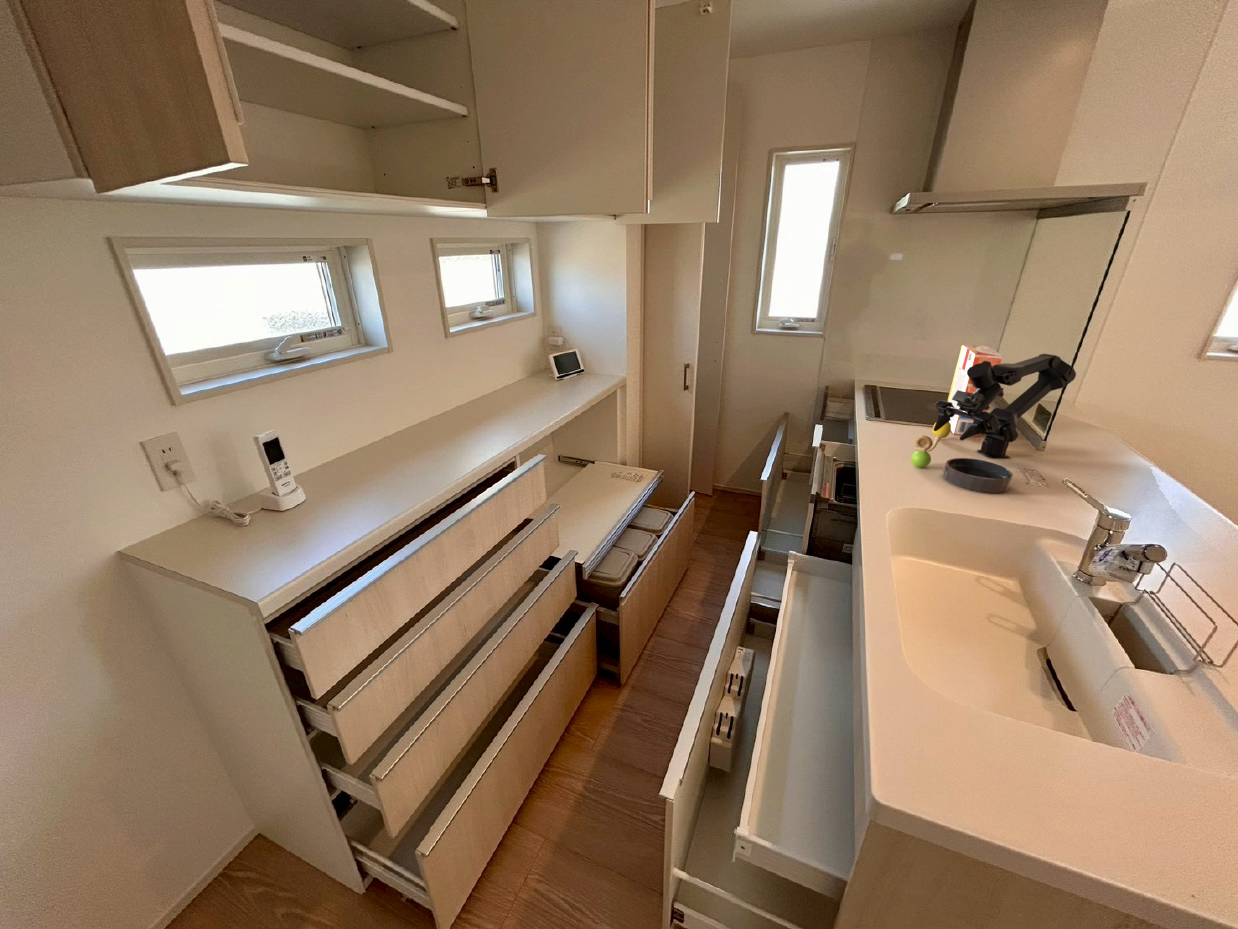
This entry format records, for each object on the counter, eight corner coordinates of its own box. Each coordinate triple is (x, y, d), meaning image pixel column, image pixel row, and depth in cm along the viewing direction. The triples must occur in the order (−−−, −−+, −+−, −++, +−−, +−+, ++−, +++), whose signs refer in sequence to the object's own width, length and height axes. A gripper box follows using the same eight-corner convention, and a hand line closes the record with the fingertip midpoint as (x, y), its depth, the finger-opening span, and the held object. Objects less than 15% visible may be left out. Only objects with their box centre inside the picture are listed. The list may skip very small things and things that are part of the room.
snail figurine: (930, 472, 155) (940, 435, 150) (907, 467, 158) (916, 431, 154) (933, 466, 159) (942, 431, 154) (911, 462, 162) (919, 427, 158)
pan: (980, 470, 156) (984, 457, 154) (1022, 493, 141) (1027, 478, 139) (930, 471, 155) (934, 458, 153) (967, 494, 140) (971, 480, 138)
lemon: (948, 442, 179) (953, 421, 176) (930, 440, 182) (935, 419, 179) (947, 438, 184) (953, 417, 180) (930, 436, 186) (935, 415, 183)
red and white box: (978, 436, 185) (1002, 355, 174) (953, 434, 188) (975, 354, 177) (965, 419, 205) (986, 345, 193) (943, 417, 208) (962, 344, 196)
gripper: (946, 375, 161) (912, 411, 162) (1004, 388, 145) (966, 428, 145) (957, 396, 166) (925, 431, 167) (1014, 411, 150) (978, 450, 151)
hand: (947, 434), depth 157 cm, fingers open, 9 cm apart
